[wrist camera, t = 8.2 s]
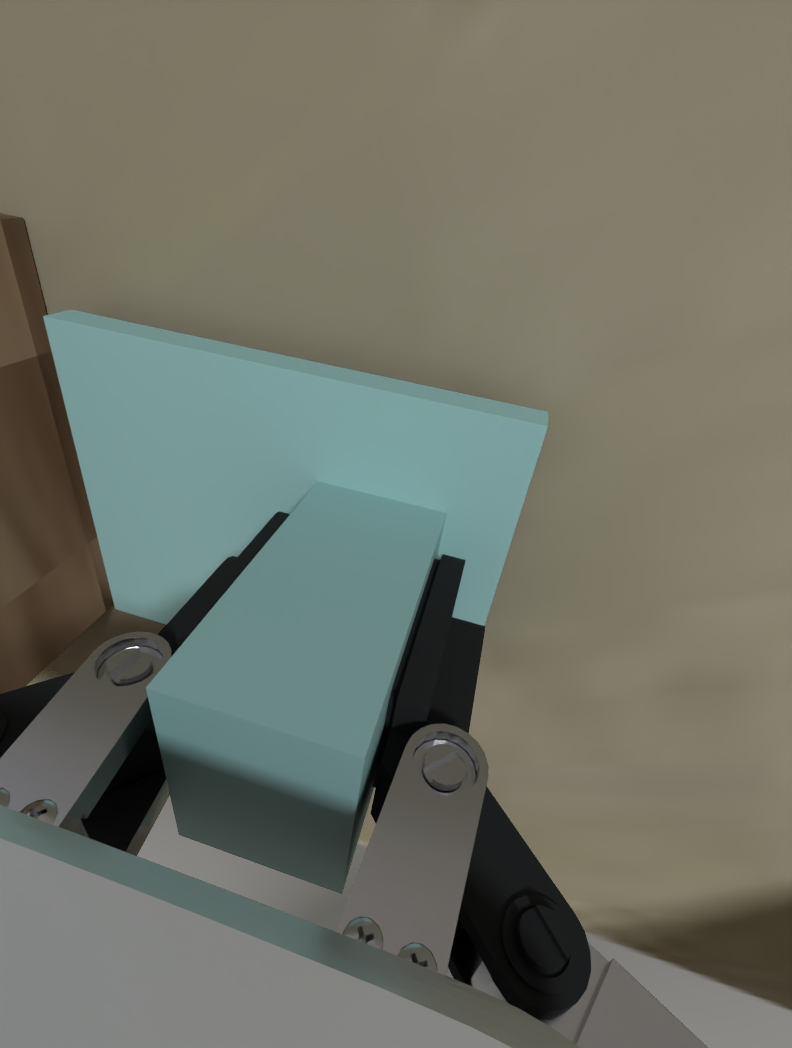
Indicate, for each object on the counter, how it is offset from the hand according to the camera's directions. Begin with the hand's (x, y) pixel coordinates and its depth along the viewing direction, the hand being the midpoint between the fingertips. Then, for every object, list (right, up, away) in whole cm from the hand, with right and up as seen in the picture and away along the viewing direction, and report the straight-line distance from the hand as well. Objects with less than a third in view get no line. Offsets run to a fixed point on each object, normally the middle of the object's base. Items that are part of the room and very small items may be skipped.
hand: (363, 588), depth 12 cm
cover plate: (-2, +2, +2) cm, 3 cm away
